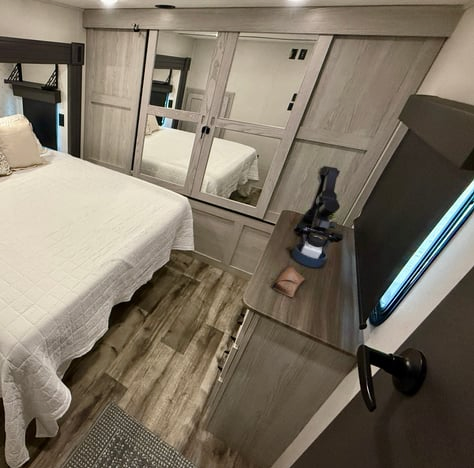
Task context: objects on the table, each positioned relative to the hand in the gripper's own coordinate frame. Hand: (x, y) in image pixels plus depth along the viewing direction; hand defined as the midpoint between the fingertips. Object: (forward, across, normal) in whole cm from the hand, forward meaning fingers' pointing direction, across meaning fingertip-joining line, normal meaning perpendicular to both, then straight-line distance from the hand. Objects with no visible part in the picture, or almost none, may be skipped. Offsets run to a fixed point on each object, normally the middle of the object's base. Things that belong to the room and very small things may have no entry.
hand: (312, 248), depth 131 cm
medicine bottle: (+4, 0, +6) cm, 7 cm away
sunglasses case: (+22, -8, -12) cm, 27 cm away
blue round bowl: (+4, 0, +6) cm, 7 cm away
